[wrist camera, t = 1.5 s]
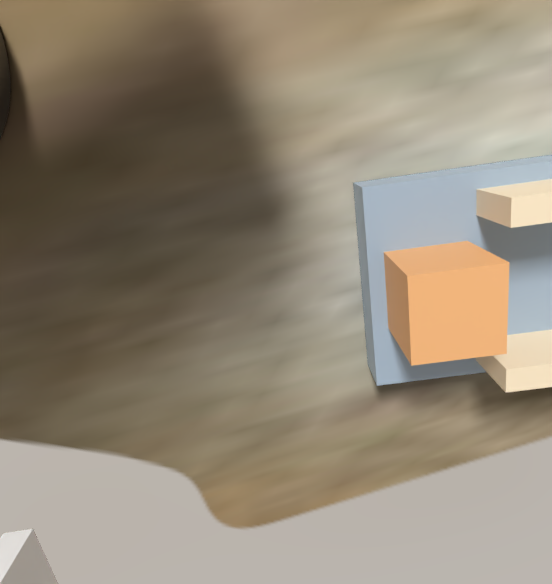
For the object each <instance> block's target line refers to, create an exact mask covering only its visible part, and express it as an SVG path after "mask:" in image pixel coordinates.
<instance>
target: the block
mask: <svg viewBox="0 0 552 584" xmlns="http://www.w3.org/2000/svg"><path fill="white" fill-rule="evenodd" d="M384 266H385V282H386V298H387V315H388V328H389V330H390V332H391V333H392V335H393V337H394V338H395V340H396V341H397V343H398V345H399V346H400V348H401V350H402V351H403V353H404V354H405V356H406V358H407V359H408V361H409V363H410V364H411V366H413V365H421V364H429V363H437V362H445V361H453V360H461V359H469V358H477V357H485V356H493V355H501V354H507V328H508V295H509V262H508V261H506V260H504V259H502V258H500V257H498V256H496V255H494V254H492V253H490V252H488V251H486V250H484V249H483V248H481V247H479V246H477V245H475V244H473V243H471V242H469V241H462V242H455V243H447V244H440V245H432V246H425V247H418V248H410V249H403V250H395V251H388V252H384Z"/></svg>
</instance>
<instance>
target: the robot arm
mask: <svg viewBox="0 0 552 584" xmlns="http://www.w3.org/2000/svg"><path fill="white" fill-rule="evenodd" d="M10 94H11V79H10V68H9V62H8V56H7V52H6V48H5V44H4V41H3V37H2V34H1V31H0V138H1V136H2V133H3V130H4V128H5V124H6V121H7V117H8V112H9V105H10ZM0 584H58V583H57V580H56V578H55V576H54V574H53V572H52V569H51V567H50V565H49V563H48V561H47V558H46V556H45V554H44V552H43V550H42V547H41V545H40V543H39V541H38V539H37V536H36V534H35V532H34V530H33V529H27V530H20V531H14V532H7V533H3V535H2V536H1V538H0Z"/></svg>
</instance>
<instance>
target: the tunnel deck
mask: <svg viewBox="0 0 552 584" xmlns="http://www.w3.org/2000/svg"><path fill="white" fill-rule="evenodd" d="M353 186H354V198H355V211H356V223H357V236H358V248H359V261H360V273H361V285H362V298H363V310H364V323H365V335H366V348H367V360H368V366H369V368H370V371H371V373H372V375H373V378H374V380H375V382H376V385H377V386H378V385H386V384H394V383H403V382H411V381H419V380H427V379H435V378H443V377H451V376H459V375H467V374H475V373H483V372H487V373H488V374H489V375H490V376H491V377H492V378H493V379H494V380H495V382H496V383H497V384H498V385H499V386H500V387H501V388H502V389H503V390H504V391H505V392H514V391H523V390H531V389H539V388H547V387H552V155H547V156H539V157H532V158H525V159H518V160H511V161H504V162H497V163H490V164H483V165H475V166H468V167H461V168H454V169H447V170H440V171H433V172H426V173H419V174H412V175H404V176H397V177H390V178H383V179H376V180H369V181H362V182H355V183H353ZM462 241H469V242H471V243H473V244H475V245H477V246H479V247H481V248H483V249H484V250H486V251H488V252H490V253H492V254H494V255H496V256H498V257H500V258H502V259H504V260H506V261H508V262H509V295H508V328H507V354H501V355H493V356H485V357H477V358H469V359H461V360H453V361H445V362H437V363H429V364H421V365H413V366H411V364H410V363H409V361H408V359H407V358H406V356H405V354H404V353H403V351H402V350H401V348H400V346H399V345H398V343H397V341H396V340H395V338H394V337H393V335H392V333H391V332H390V330H389V328H388V315H387V298H386V282H385V266H384V252H388V251H395V250H403V249H410V248H418V247H425V246H432V245H440V244H447V243H455V242H462Z"/></svg>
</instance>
